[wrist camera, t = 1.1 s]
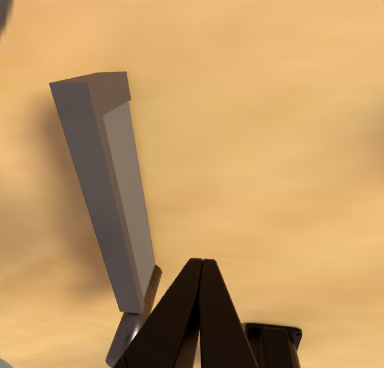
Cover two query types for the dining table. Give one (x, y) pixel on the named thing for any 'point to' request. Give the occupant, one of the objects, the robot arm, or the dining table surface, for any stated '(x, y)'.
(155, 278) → the post
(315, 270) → the dining table surface
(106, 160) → the grey long flat bar
